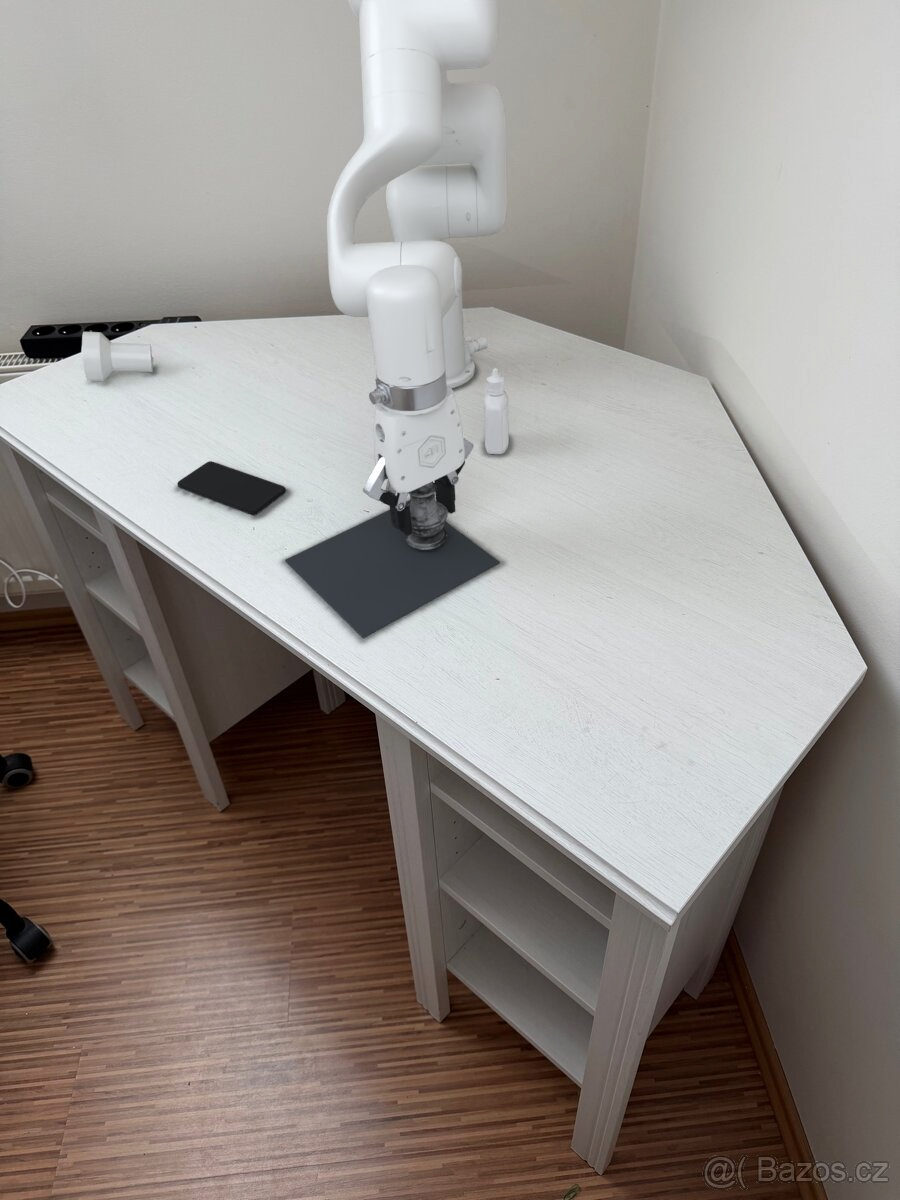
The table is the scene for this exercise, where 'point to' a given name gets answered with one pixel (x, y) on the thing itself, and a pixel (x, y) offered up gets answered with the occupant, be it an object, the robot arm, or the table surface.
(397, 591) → the mat
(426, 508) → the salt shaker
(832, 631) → the table surface
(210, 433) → the table surface
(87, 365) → the spotlight
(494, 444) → the eye dropper bottle
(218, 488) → the smartphone
